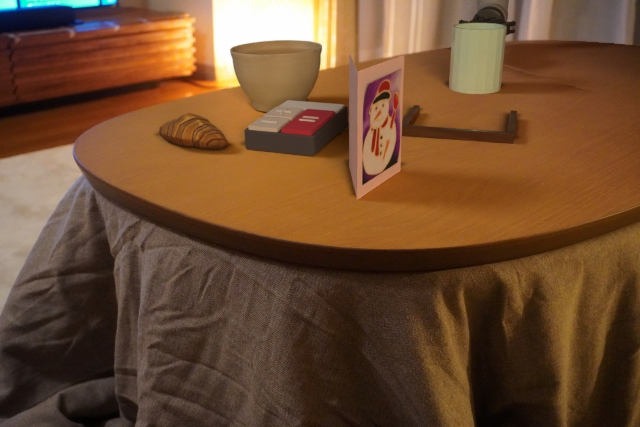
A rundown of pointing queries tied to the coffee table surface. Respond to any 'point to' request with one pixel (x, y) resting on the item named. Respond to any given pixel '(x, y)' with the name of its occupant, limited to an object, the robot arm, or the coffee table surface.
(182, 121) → the croissant
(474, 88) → the cup
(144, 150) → the coffee table surface
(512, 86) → the coffee table surface
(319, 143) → the calculator
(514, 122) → the bay
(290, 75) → the planter bowl
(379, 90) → the greeting card
